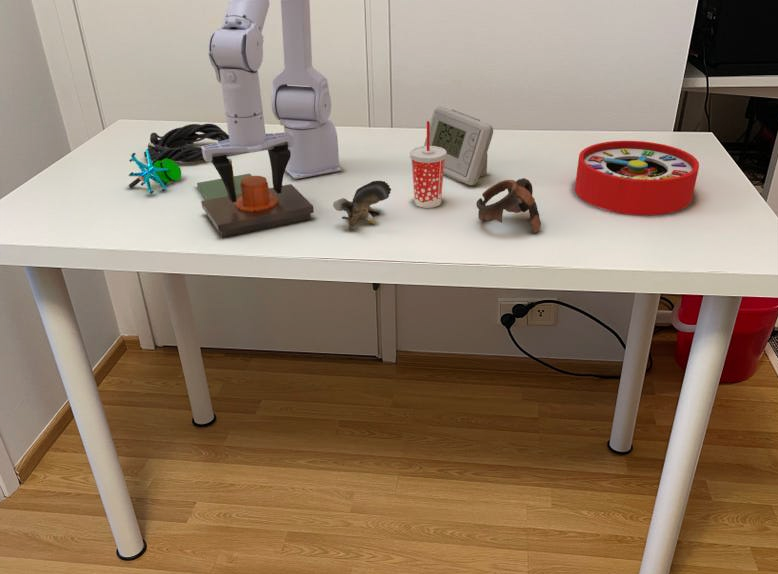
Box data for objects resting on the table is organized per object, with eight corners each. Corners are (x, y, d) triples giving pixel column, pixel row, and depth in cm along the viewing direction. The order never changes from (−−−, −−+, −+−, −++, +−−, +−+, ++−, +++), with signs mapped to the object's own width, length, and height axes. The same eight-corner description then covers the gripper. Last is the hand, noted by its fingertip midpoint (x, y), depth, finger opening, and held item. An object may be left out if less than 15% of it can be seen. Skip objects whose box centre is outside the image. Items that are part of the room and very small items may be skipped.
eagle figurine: (380, 229, 117) (401, 199, 123) (353, 193, 114) (376, 164, 120) (348, 245, 122) (369, 214, 128) (321, 210, 119) (344, 181, 125)
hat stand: (250, 178, 140) (246, 146, 136) (266, 196, 132) (262, 163, 129) (197, 188, 136) (191, 156, 133) (211, 207, 129) (205, 173, 125)
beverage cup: (427, 192, 132) (427, 113, 124) (452, 202, 129) (454, 121, 121) (402, 202, 129) (401, 121, 121) (428, 212, 125) (428, 129, 117)
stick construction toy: (147, 189, 130) (127, 148, 129) (123, 207, 133) (103, 167, 133) (193, 185, 140) (175, 147, 140) (170, 202, 144) (152, 165, 143)
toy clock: (684, 189, 116) (562, 168, 125) (677, 224, 120) (558, 201, 128) (710, 150, 131) (599, 134, 139) (703, 182, 134) (594, 164, 142)
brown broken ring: (536, 244, 116) (512, 202, 111) (486, 256, 122) (461, 216, 118) (557, 198, 122) (535, 157, 118) (508, 212, 129) (486, 173, 124)
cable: (237, 141, 157) (234, 121, 155) (226, 165, 146) (223, 143, 143) (156, 143, 157) (152, 123, 154) (138, 167, 145) (134, 145, 143)
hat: (269, 192, 127) (267, 170, 125) (282, 206, 122) (280, 183, 120) (231, 200, 125) (227, 177, 122) (242, 214, 120) (239, 191, 117)
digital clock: (417, 162, 145) (417, 107, 139) (458, 155, 148) (460, 101, 142) (454, 191, 133) (456, 132, 126) (498, 183, 135) (502, 125, 129)
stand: (292, 197, 132) (291, 183, 130) (314, 219, 124) (313, 205, 122) (203, 214, 126) (200, 200, 125) (220, 239, 118) (217, 225, 116)
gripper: (204, 126, 109) (218, 212, 117) (297, 112, 114) (305, 195, 122) (193, 114, 115) (207, 197, 122) (282, 100, 120) (291, 181, 127)
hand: (255, 195), depth 123 cm, fingers open, 7 cm apart
